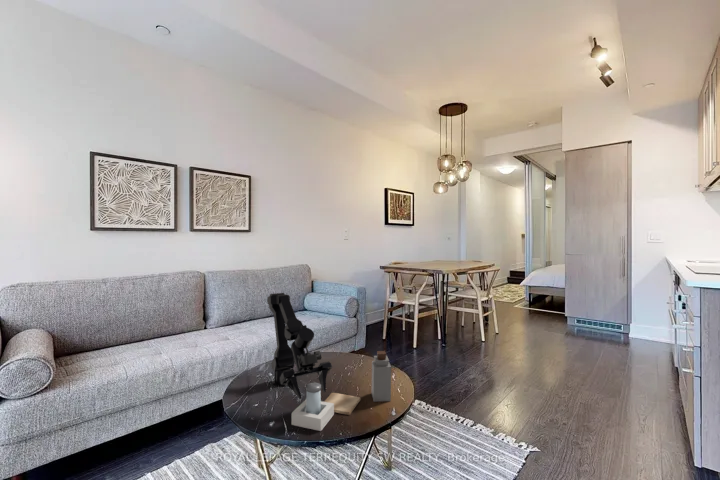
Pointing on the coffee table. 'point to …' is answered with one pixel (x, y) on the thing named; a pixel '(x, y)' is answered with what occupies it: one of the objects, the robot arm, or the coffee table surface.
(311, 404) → the cylinder
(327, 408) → the box
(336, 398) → the board
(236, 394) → the coffee table surface
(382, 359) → the perfume bottle
